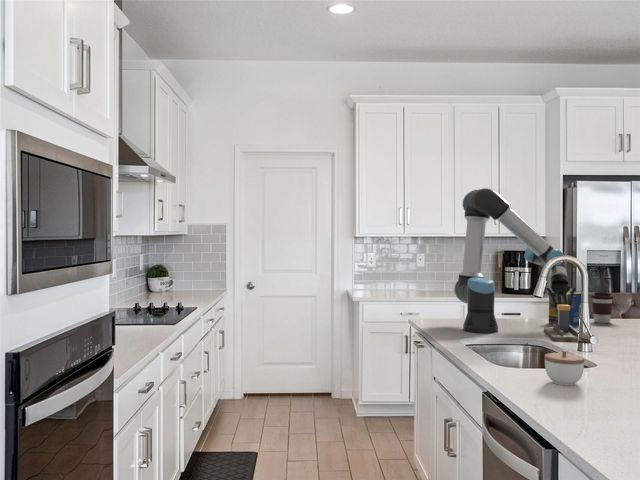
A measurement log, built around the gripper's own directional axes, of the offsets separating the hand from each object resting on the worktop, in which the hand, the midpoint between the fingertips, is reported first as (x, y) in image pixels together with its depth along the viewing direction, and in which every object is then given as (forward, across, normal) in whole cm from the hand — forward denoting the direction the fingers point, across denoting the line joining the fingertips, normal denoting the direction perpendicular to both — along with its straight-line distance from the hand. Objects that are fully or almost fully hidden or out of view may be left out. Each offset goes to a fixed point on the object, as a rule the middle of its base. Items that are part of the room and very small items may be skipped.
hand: (564, 319), depth 255 cm
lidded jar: (+70, +16, +63) cm, 95 cm away
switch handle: (+6, +1, -1) cm, 6 cm away
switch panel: (+11, +1, +2) cm, 11 cm away
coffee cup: (-24, -24, -34) cm, 48 cm away
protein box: (-16, -6, -26) cm, 31 cm away
